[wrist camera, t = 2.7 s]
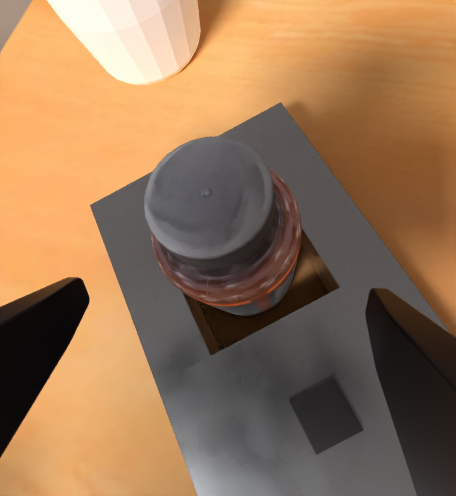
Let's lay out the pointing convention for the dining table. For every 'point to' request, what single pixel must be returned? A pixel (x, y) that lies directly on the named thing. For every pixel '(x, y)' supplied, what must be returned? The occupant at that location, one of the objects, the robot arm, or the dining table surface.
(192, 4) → the bottle
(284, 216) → the supplement bottle
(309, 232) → the grey fixture plate
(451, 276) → the dining table surface
